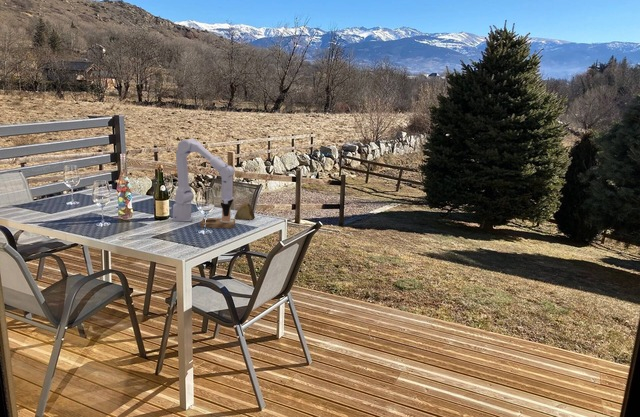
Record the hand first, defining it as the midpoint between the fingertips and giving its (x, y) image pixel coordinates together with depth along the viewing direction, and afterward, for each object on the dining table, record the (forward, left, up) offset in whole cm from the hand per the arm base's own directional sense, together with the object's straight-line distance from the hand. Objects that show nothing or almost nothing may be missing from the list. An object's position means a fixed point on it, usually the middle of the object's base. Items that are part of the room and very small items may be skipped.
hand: (226, 214), depth 251 cm
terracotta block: (0, 0, -3) cm, 3 cm away
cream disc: (0, 0, -4) cm, 4 cm away
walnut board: (-4, 0, -6) cm, 7 cm away
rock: (+9, +15, -6) cm, 18 cm away
